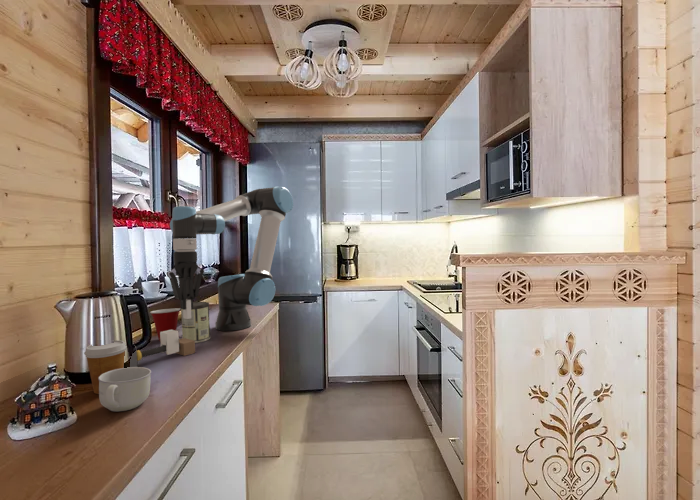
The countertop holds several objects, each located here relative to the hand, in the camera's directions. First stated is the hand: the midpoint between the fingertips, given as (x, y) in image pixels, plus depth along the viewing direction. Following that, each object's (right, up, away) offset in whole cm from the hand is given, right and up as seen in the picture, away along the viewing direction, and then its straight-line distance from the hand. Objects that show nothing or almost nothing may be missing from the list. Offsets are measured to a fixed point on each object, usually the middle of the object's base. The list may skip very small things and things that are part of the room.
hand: (187, 318), depth 133 cm
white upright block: (-4, -11, -5) cm, 12 cm away
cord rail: (-6, -12, -8) cm, 16 cm away
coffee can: (-3, -12, +16) cm, 20 cm away
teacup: (+4, -14, -44) cm, 46 cm away
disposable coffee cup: (-7, -13, -32) cm, 35 cm away
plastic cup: (-16, -12, +18) cm, 26 cm away
